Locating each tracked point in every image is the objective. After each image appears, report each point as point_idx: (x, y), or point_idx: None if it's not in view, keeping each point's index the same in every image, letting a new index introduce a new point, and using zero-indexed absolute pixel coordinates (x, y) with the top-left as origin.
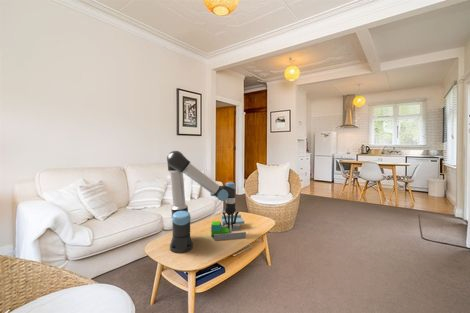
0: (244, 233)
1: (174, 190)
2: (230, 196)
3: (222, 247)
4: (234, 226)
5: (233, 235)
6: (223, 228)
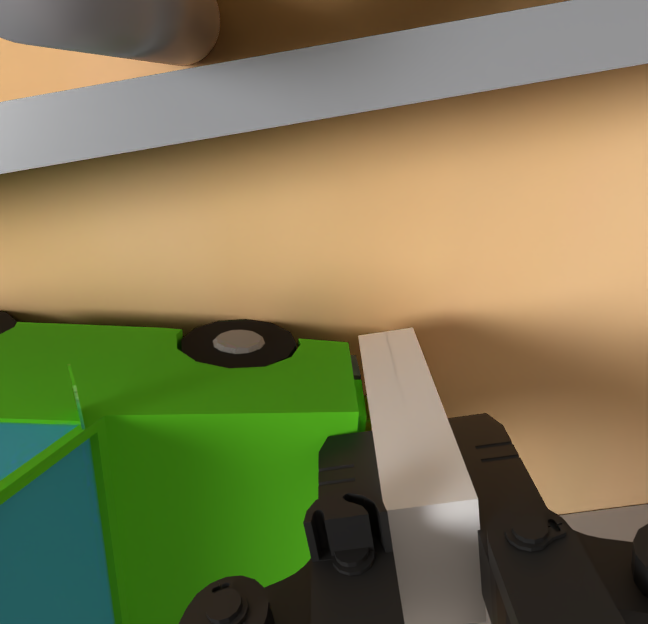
0: None
1: None
2: None
3: None
4: (629, 64)
5: None
6: (163, 502)
